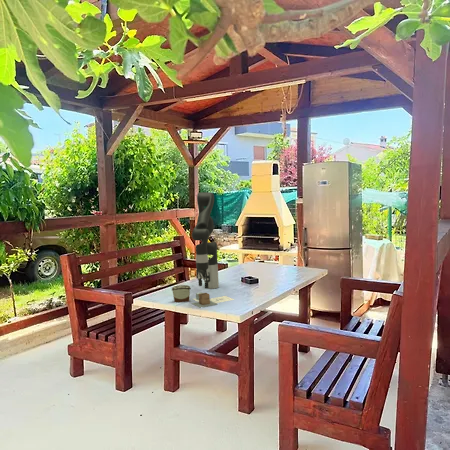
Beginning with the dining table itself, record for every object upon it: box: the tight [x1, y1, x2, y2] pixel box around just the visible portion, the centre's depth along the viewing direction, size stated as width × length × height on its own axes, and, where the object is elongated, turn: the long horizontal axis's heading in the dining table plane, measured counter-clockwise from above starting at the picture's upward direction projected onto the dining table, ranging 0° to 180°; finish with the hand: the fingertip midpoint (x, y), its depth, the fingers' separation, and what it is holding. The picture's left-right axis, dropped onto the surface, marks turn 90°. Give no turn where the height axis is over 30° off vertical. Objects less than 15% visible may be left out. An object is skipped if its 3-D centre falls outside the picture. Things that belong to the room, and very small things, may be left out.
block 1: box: [195, 291, 203, 300], centre depth 250 cm, size 4×4×4 cm
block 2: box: [198, 292, 211, 305], centre depth 238 cm, size 5×5×6 cm
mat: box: [191, 301, 219, 309], centre depth 238 cm, size 12×12×1 cm
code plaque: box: [210, 295, 235, 304], centre depth 246 cm, size 12×16×1 cm
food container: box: [171, 284, 191, 303], centre depth 248 cm, size 12×6×10 cm, turn 92°
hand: (203, 287), depth 237 cm, fingers open, 8 cm apart
